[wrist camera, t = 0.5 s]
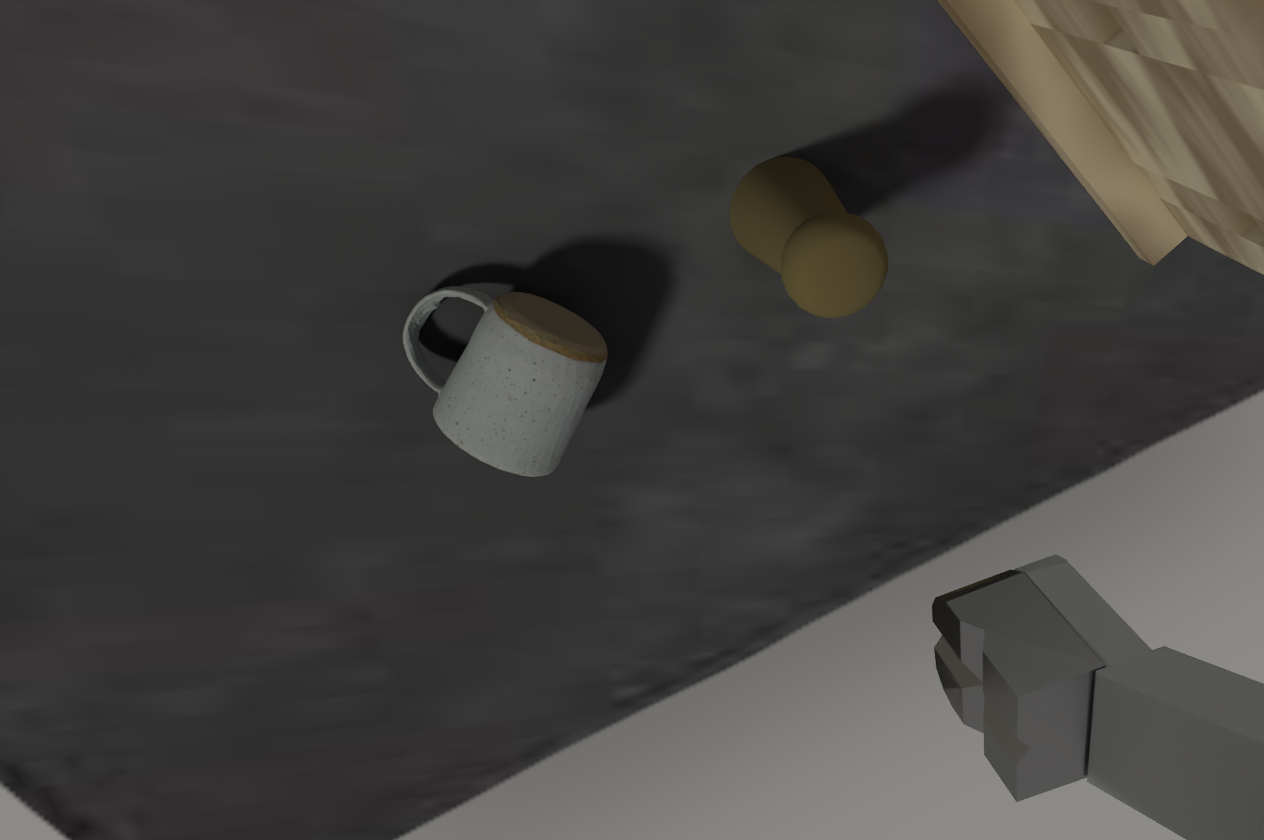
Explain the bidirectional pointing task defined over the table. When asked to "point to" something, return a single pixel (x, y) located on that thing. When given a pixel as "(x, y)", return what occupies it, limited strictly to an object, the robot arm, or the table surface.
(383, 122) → the table surface
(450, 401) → the ceramic mug
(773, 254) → the cork
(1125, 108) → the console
